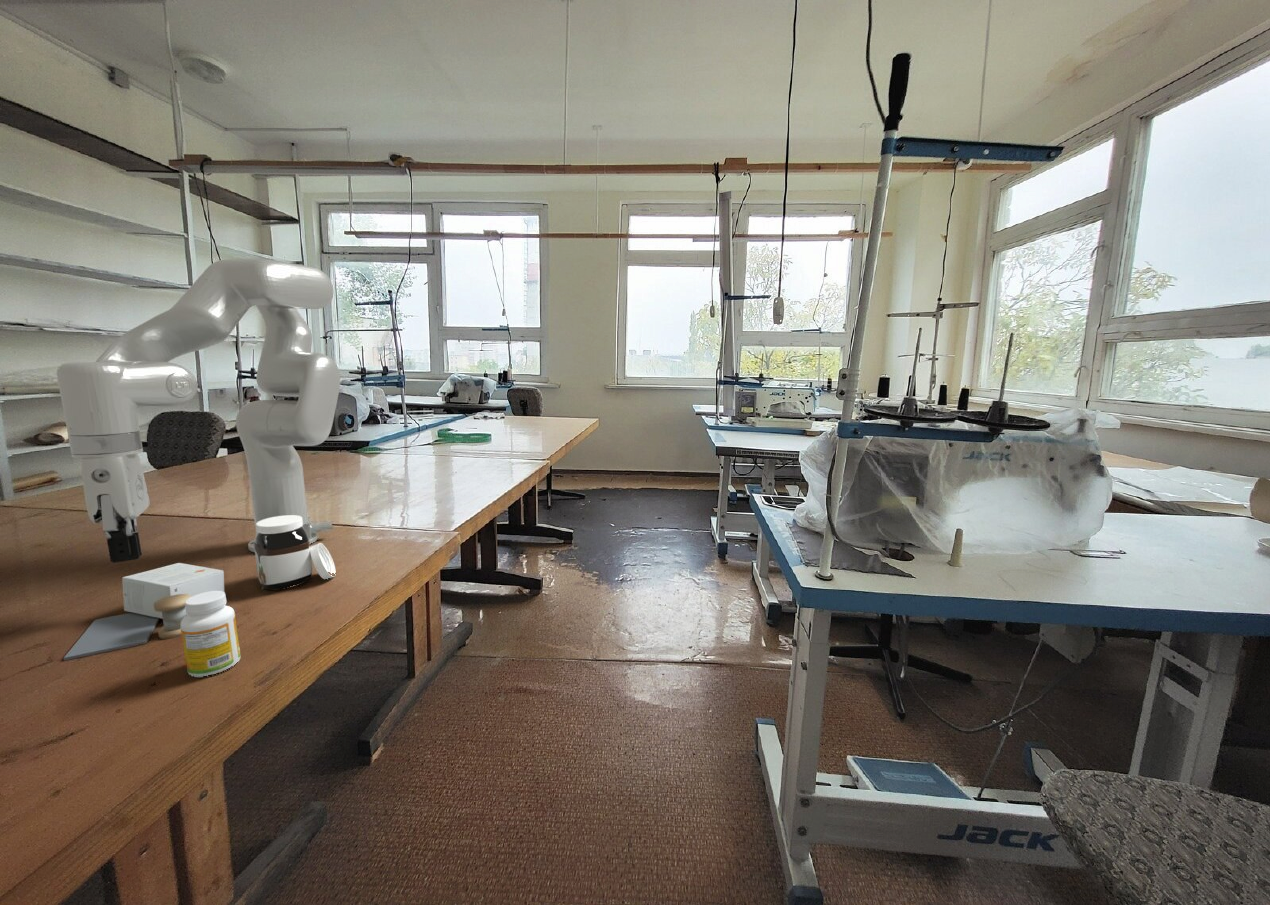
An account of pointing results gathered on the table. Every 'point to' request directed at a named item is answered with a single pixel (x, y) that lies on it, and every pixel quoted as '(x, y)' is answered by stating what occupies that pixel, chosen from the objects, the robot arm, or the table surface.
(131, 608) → the small box
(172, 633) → the thread spool
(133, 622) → the felt mat
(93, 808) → the table surface
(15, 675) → the table surface
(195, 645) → the supplement bottle
